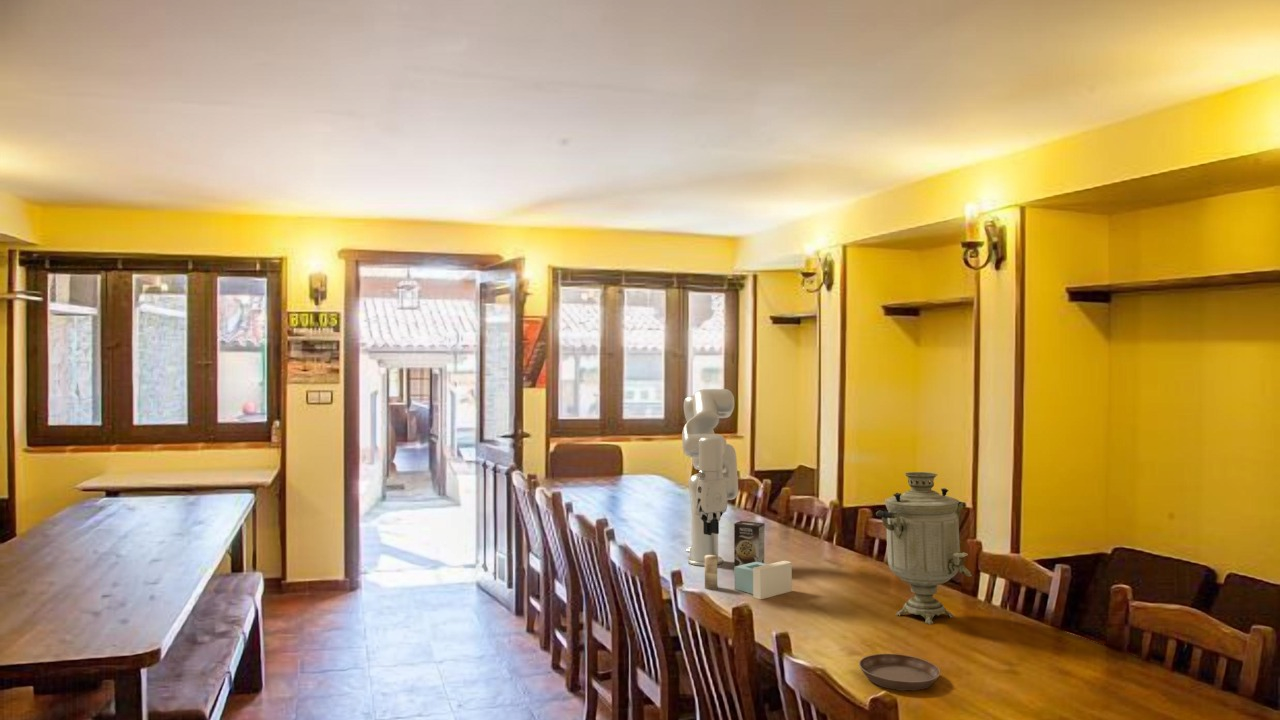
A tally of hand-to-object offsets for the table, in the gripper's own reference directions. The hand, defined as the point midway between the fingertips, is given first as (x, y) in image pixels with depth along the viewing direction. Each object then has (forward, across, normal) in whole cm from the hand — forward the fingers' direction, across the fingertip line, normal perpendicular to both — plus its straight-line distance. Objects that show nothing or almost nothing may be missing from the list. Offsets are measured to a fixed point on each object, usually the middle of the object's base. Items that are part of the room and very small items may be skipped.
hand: (711, 533), depth 274 cm
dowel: (+17, 0, 0) cm, 17 cm away
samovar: (+18, +24, -62) cm, 69 cm away
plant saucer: (+18, -20, -83) cm, 87 cm away
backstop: (+17, +9, -17) cm, 26 cm away
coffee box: (+17, +26, +8) cm, 32 cm away
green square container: (+17, +9, -11) cm, 22 cm away
